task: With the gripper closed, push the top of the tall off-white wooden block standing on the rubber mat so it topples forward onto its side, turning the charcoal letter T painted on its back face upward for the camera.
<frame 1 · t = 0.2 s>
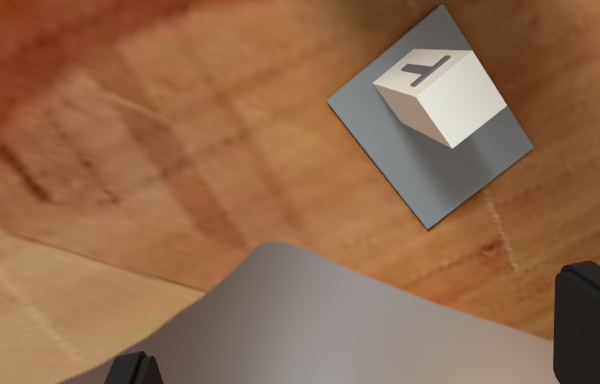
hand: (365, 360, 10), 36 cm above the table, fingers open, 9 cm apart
mat: (432, 124, 47), on the table
letter block: (407, 86, 44), point 1 cm above the table, touching mat
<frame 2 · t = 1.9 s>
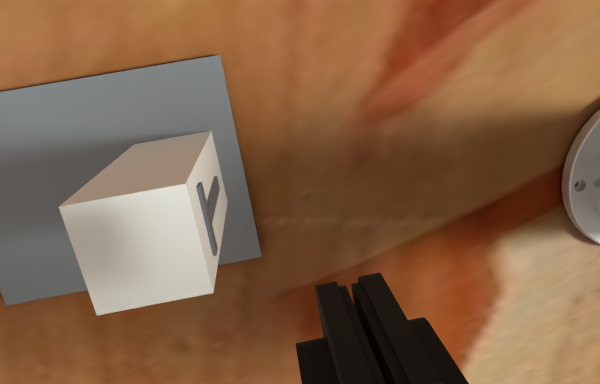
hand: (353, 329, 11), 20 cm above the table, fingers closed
mat: (109, 185, 30), on the table
letter block: (182, 174, 30), point 1 cm above the table, touching mat
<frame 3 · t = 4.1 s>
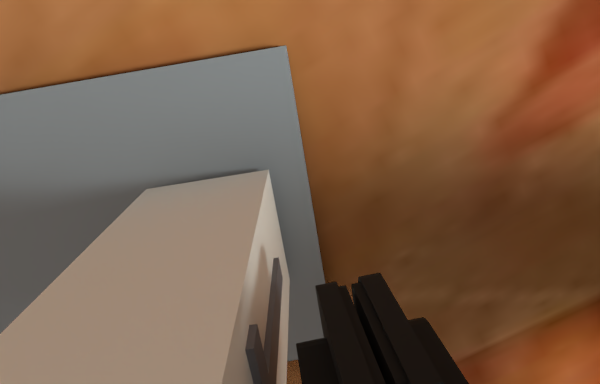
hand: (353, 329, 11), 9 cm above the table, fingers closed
mat: (106, 250, 19), on the table
letter block: (220, 235, 19), point 1 cm above the table, tilted 5°, touching gripper, mat
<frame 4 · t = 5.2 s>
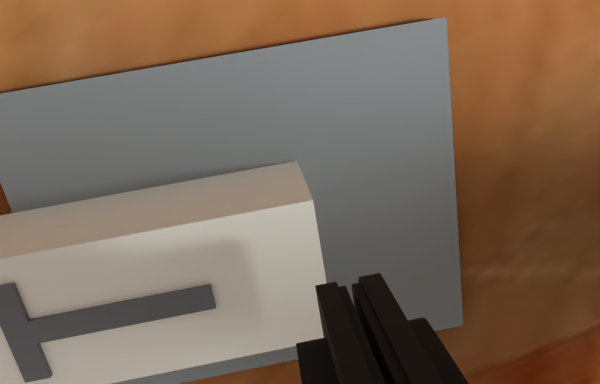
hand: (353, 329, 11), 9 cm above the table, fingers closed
mat: (249, 222, 20), on the table
letter block: (314, 241, 17), point 3 cm above the table, tilted 90°, touching mat
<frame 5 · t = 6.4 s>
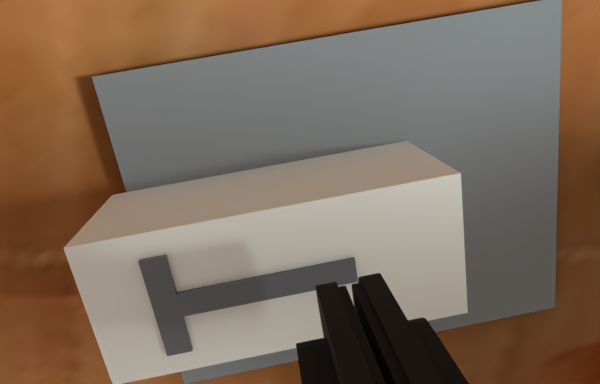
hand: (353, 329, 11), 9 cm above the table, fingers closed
mat: (352, 203, 20), on the table
letter block: (434, 218, 17), point 3 cm above the table, tilted 90°, touching mat
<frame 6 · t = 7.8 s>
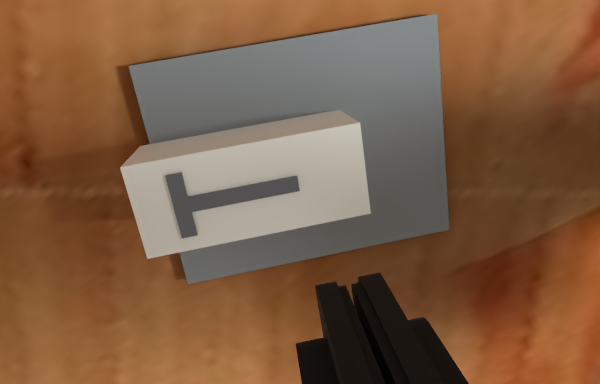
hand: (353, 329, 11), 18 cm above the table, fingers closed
mat: (304, 154, 29), on the table
letter block: (353, 158, 26), point 3 cm above the table, tilted 90°, touching mat
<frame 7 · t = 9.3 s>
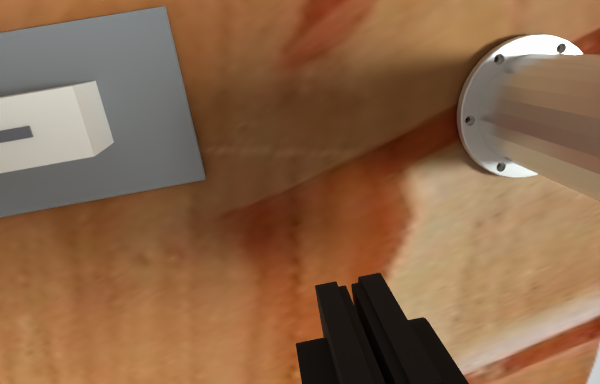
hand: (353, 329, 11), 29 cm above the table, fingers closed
mat: (76, 116, 37), on the table
letter block: (95, 116, 34), point 3 cm above the table, tilted 90°, touching mat
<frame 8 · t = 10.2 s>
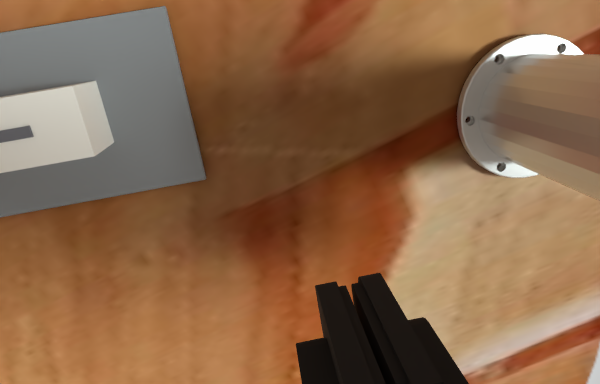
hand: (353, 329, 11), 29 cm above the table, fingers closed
mat: (77, 116, 37), on the table
letter block: (95, 116, 34), point 3 cm above the table, tilted 90°, touching mat
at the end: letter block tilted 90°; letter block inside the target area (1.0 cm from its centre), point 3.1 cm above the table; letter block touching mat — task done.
